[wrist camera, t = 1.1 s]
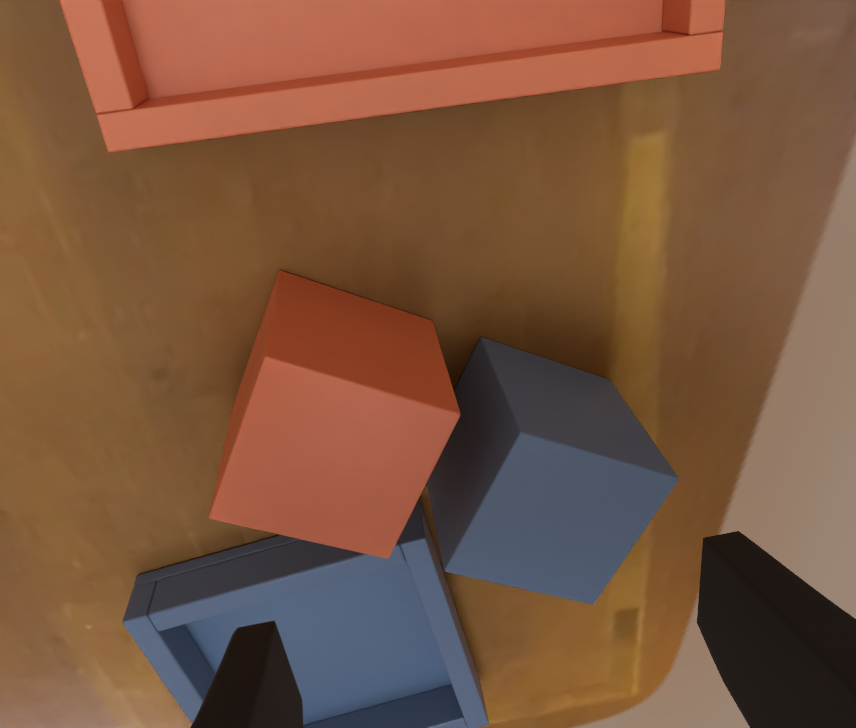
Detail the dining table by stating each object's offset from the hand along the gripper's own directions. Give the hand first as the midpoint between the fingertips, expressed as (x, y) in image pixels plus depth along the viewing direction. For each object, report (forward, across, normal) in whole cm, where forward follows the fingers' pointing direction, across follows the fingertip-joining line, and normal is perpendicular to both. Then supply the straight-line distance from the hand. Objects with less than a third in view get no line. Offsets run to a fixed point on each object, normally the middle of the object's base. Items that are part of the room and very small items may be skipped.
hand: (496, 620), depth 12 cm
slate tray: (+10, +5, +11) cm, 15 cm away
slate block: (+10, -2, +3) cm, 11 cm away
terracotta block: (+10, +3, 0) cm, 10 cm away
